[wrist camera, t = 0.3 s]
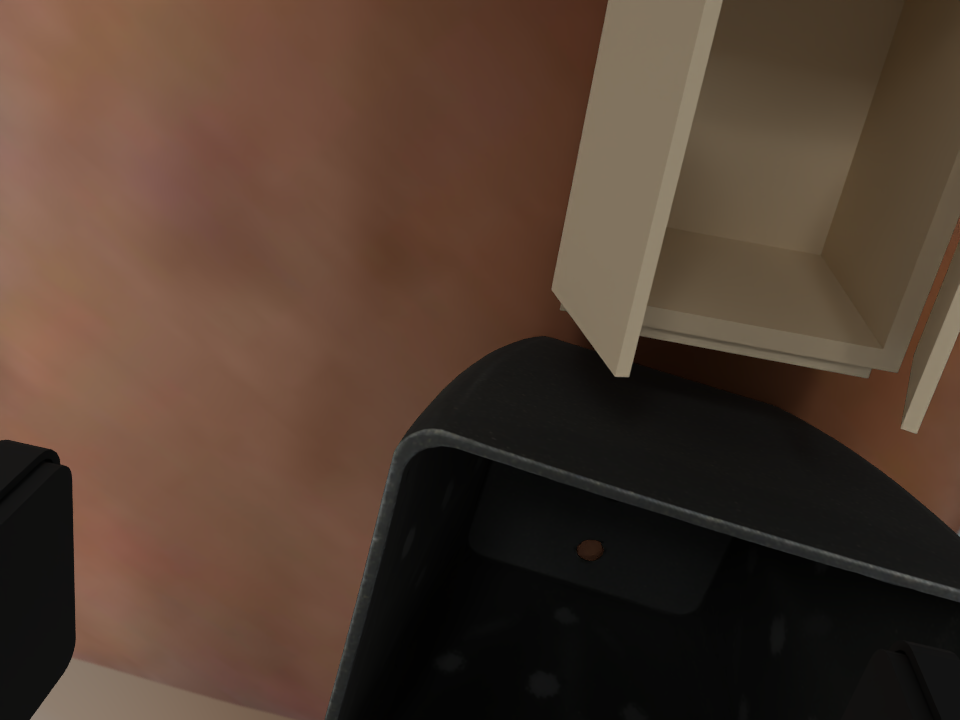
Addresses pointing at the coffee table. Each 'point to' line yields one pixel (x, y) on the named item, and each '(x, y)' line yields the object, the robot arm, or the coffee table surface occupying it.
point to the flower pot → (632, 555)
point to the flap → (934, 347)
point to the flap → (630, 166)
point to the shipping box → (815, 183)
